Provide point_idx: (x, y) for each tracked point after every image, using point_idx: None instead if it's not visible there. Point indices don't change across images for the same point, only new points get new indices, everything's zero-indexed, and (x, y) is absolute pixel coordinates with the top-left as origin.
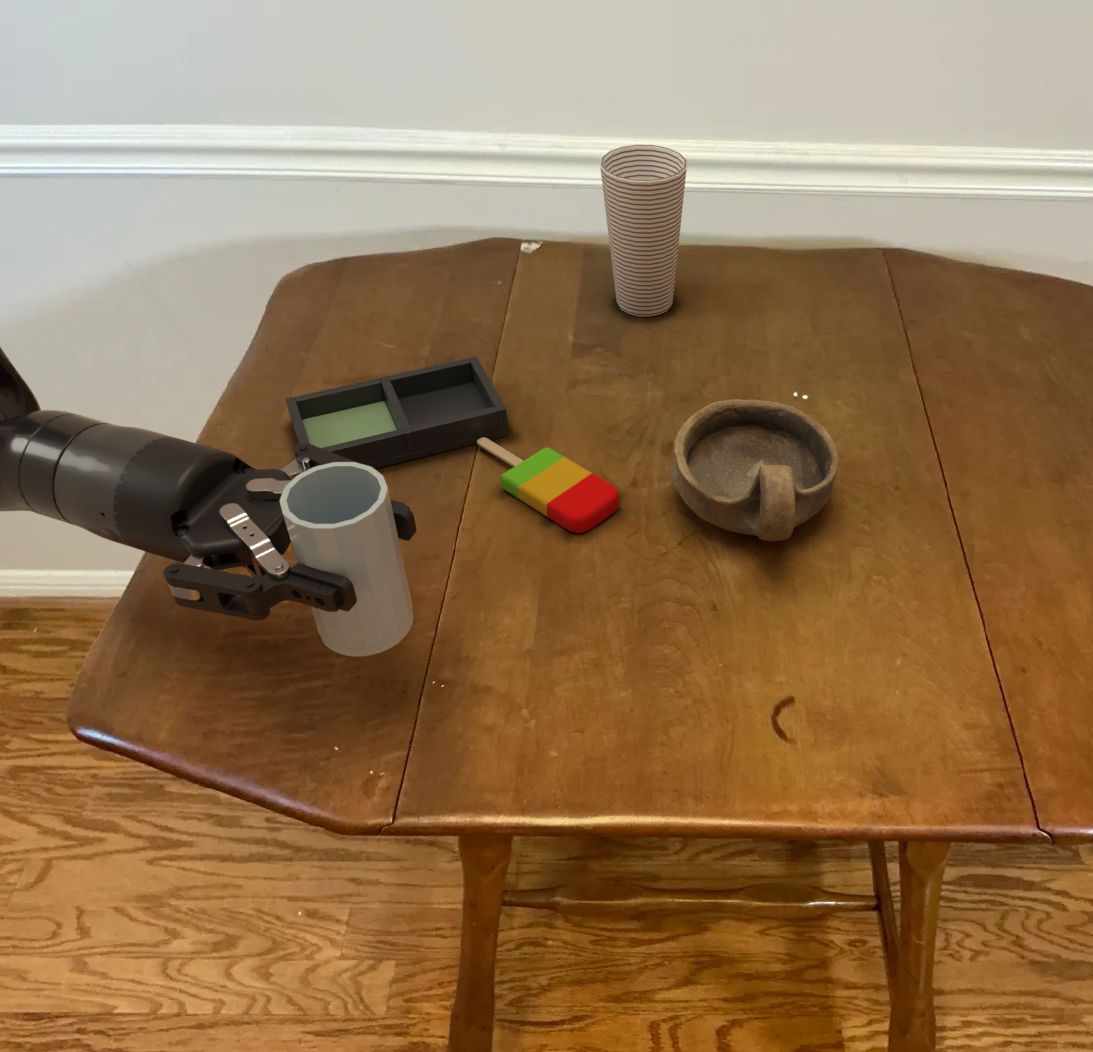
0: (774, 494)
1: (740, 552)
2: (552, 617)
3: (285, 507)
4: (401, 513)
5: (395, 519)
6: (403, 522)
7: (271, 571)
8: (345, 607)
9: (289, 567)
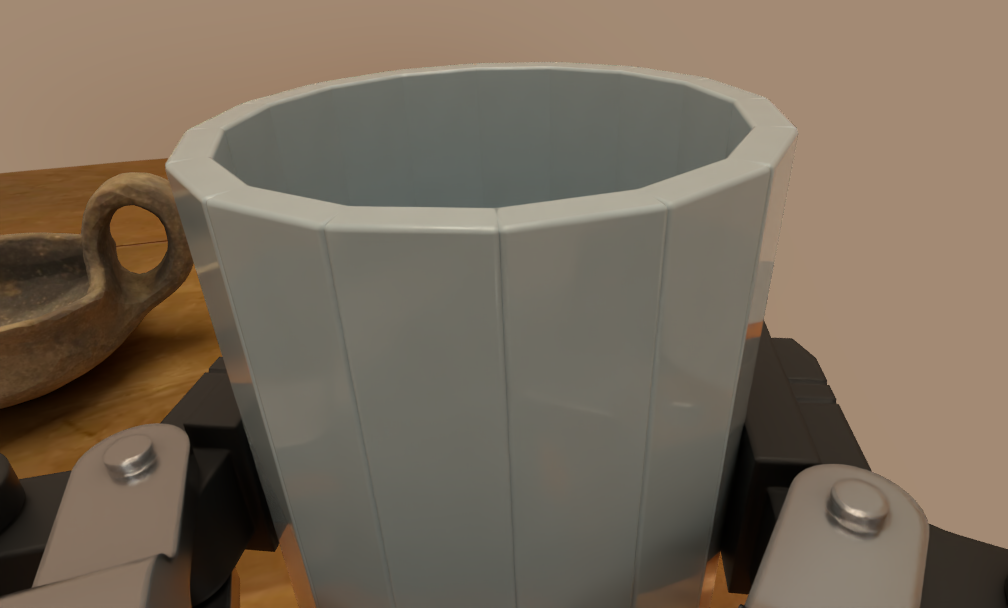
0: (167, 187)
1: (138, 371)
2: (254, 565)
3: (711, 172)
4: None
5: None
6: None
7: (915, 523)
8: None
9: (811, 470)
